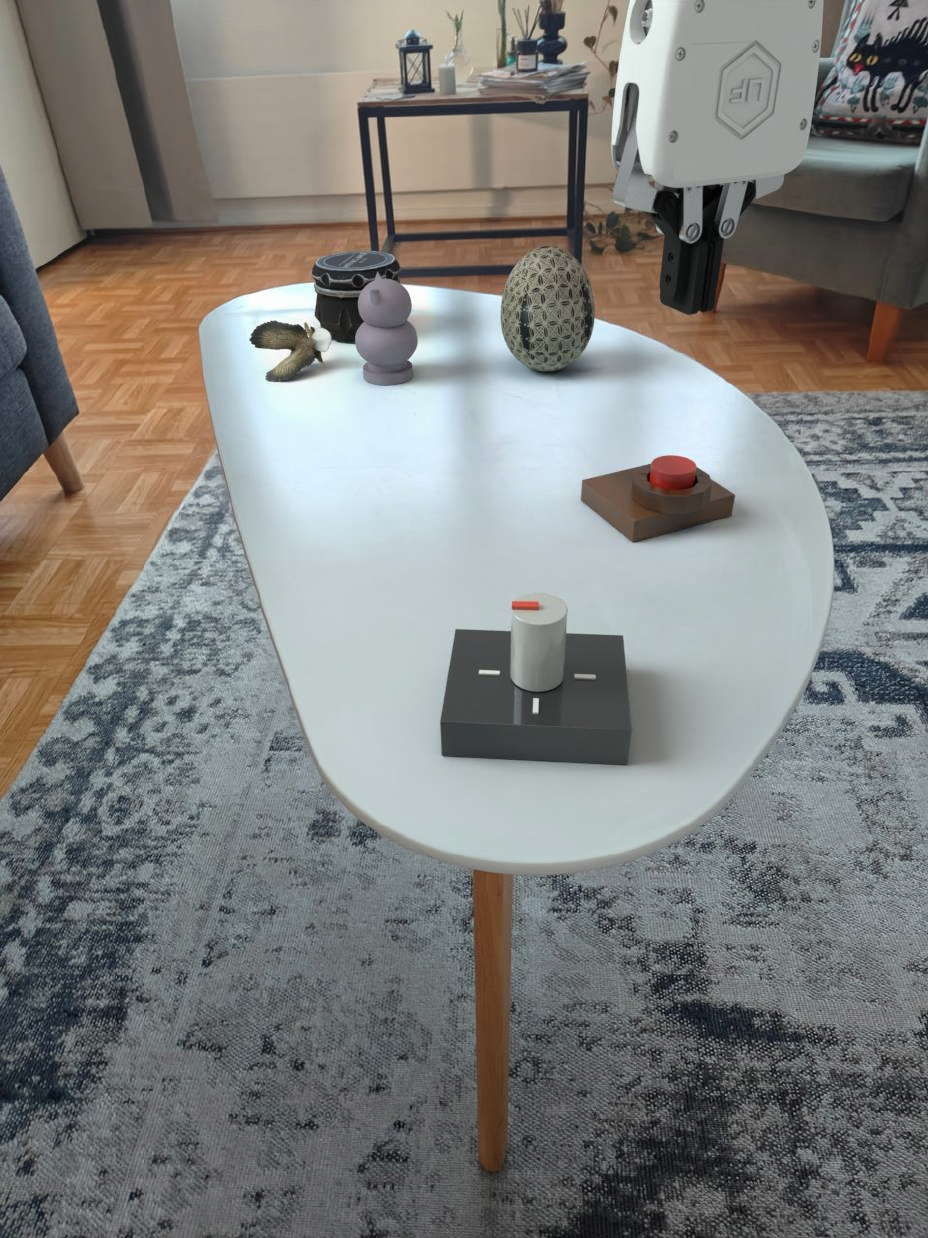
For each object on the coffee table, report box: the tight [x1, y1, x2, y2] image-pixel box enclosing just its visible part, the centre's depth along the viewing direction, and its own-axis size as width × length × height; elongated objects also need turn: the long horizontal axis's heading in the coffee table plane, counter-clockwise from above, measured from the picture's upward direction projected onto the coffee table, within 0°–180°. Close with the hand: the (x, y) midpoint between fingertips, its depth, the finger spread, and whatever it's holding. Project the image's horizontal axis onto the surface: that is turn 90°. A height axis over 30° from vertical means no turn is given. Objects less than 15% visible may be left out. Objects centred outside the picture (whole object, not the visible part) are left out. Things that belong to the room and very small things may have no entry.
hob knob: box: [510, 592, 569, 692], centre depth 59 cm, size 4×4×6 cm
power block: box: [580, 463, 736, 543], centre depth 84 cm, size 11×10×4 cm
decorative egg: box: [500, 245, 596, 372], centre depth 112 cm, size 12×12×15 cm
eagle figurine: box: [248, 320, 332, 382], centre depth 116 cm, size 8×7×9 cm
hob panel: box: [439, 628, 633, 766], centre depth 61 cm, size 12×10×3 cm
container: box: [310, 250, 402, 344], centre depth 127 cm, size 13×13×10 cm
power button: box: [649, 454, 698, 490], centre depth 81 cm, size 4×4×2 cm
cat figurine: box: [354, 271, 419, 386], centre depth 112 cm, size 8×8×12 cm
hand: (685, 306), depth 53 cm, fingers closed
